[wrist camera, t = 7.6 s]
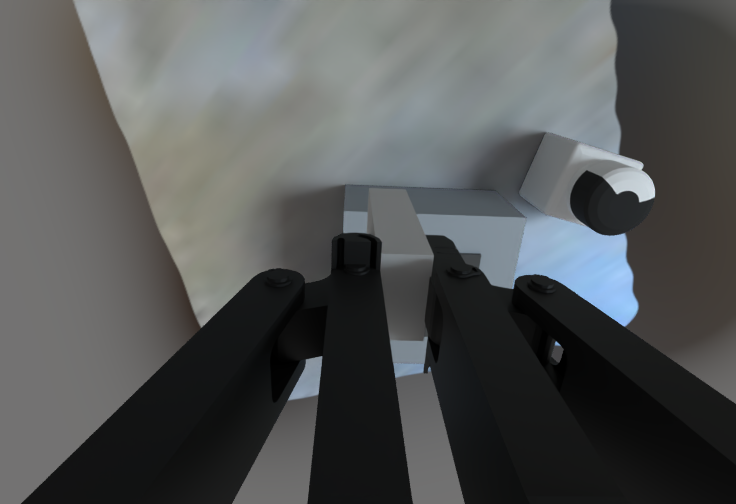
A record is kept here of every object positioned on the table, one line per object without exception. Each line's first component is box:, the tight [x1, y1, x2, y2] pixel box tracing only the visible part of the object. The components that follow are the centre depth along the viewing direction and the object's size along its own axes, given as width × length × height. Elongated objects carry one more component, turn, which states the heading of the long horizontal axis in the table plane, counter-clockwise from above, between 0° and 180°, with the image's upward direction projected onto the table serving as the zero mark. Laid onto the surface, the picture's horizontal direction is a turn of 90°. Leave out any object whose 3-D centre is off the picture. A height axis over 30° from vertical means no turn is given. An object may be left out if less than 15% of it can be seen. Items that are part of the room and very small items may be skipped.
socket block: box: [343, 185, 526, 364], centre depth 49 cm, size 18×18×10 cm
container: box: [519, 132, 655, 236], centre depth 44 cm, size 8×8×13 cm
